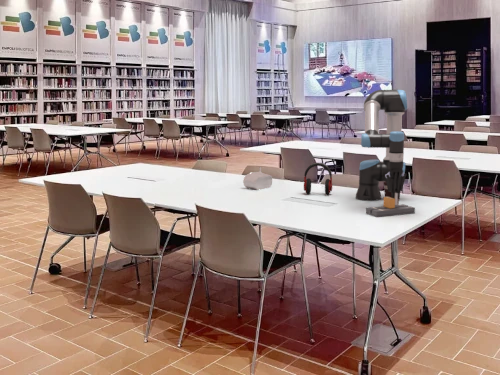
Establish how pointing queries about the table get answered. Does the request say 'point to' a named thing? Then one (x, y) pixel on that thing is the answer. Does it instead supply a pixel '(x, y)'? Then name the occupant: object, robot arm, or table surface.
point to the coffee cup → (387, 193)
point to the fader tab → (389, 202)
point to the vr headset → (257, 180)
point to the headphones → (327, 183)
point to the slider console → (390, 210)
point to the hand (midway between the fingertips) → (394, 204)
